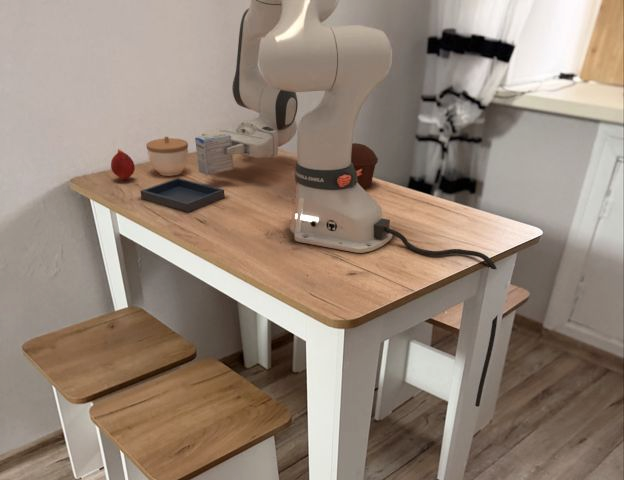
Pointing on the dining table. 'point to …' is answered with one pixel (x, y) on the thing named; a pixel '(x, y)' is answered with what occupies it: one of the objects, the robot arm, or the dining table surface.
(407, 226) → the dining table surface
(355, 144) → the muffin
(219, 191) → the tray
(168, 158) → the trinket box
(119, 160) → the onion
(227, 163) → the medicine box
